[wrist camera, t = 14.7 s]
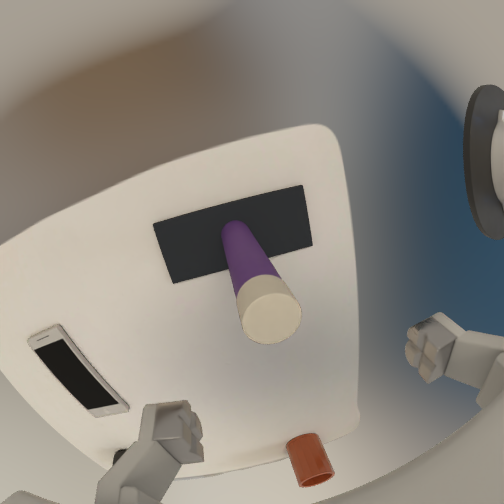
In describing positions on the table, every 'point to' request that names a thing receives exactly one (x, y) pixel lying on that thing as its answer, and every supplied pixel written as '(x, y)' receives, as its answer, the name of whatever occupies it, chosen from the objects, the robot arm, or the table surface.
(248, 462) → the table surface
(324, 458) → the pencil cup
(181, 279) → the slate mat
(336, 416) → the table surface
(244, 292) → the glue stick
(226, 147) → the table surface
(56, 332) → the smartphone
